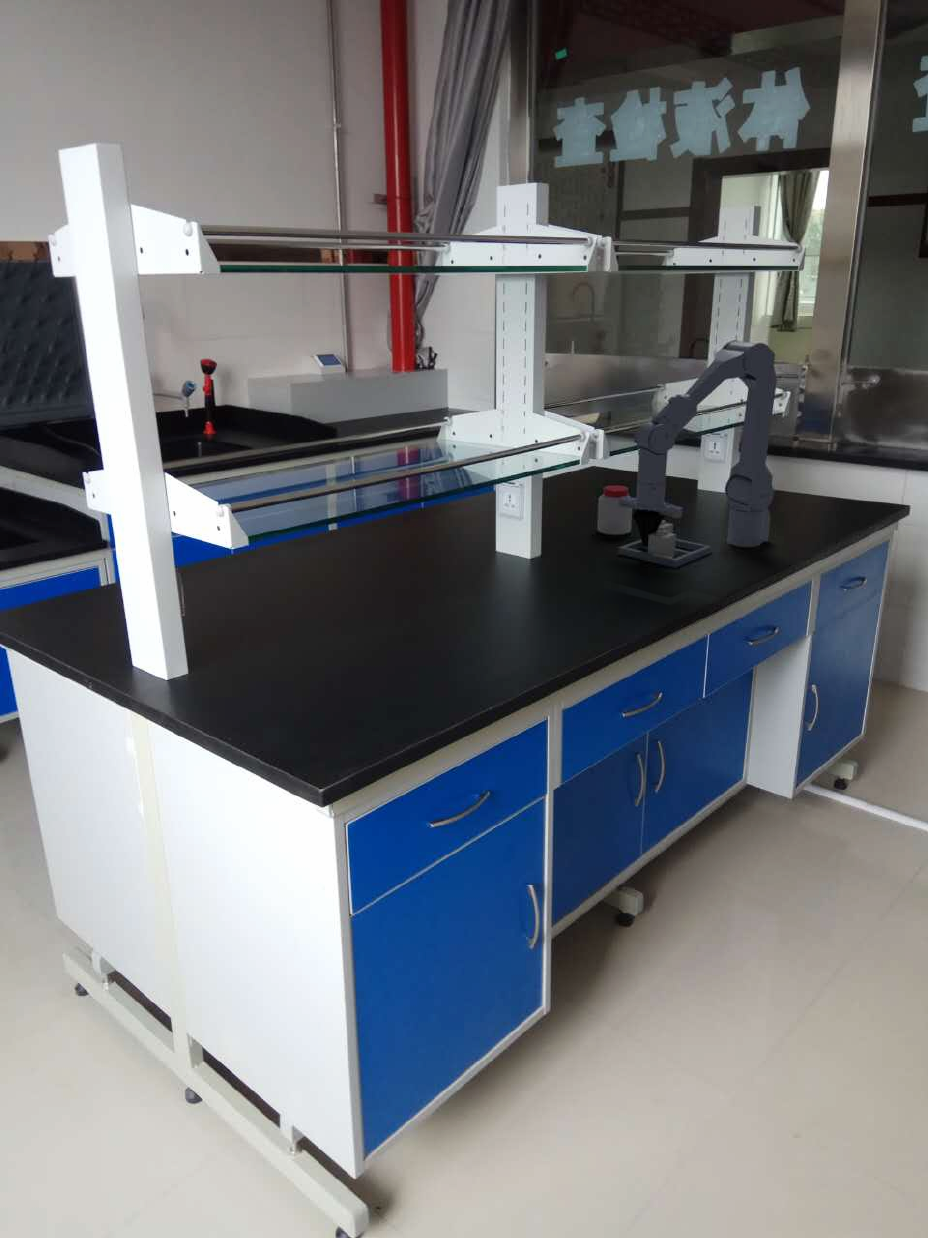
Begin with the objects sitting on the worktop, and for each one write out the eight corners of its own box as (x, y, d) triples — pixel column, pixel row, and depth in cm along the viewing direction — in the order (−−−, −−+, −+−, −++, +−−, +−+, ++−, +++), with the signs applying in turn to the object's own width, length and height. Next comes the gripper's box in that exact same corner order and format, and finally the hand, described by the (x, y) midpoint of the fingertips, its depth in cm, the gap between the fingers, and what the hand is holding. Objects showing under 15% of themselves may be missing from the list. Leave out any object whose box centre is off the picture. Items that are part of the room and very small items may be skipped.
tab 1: (658, 553, 197) (659, 528, 195) (674, 557, 195) (676, 531, 193) (647, 557, 194) (648, 531, 192) (663, 561, 192) (665, 535, 190)
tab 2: (655, 543, 205) (657, 518, 203) (671, 546, 202) (673, 521, 200) (645, 546, 202) (647, 521, 200) (661, 550, 199) (662, 525, 197)
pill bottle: (630, 539, 211) (632, 492, 207) (596, 538, 213) (598, 491, 209) (631, 530, 218) (633, 484, 214) (598, 529, 220) (600, 483, 216)
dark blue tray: (638, 541, 210) (638, 529, 209) (712, 558, 197) (714, 545, 197) (600, 554, 201) (601, 542, 200) (676, 573, 188) (677, 560, 187)
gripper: (611, 479, 193) (608, 542, 198) (670, 490, 184) (666, 556, 189) (630, 474, 198) (627, 535, 203) (690, 484, 189) (684, 548, 193)
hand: (647, 545), depth 196 cm, fingers closed
